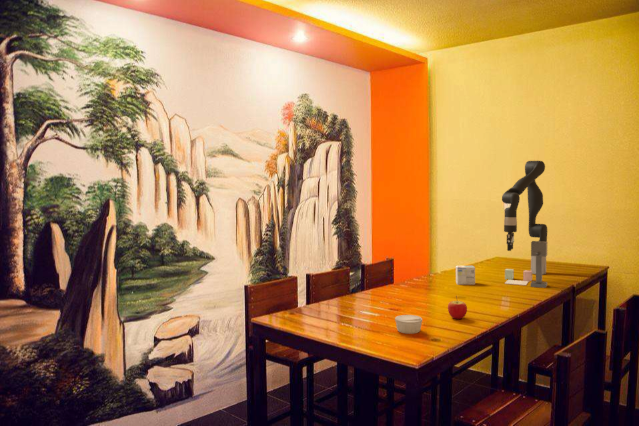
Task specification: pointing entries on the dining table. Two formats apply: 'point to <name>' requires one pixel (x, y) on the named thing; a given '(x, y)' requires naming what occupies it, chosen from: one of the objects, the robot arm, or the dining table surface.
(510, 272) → the pale green rectangular block
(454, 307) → the apple
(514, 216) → the robot arm
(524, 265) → the dining table surface
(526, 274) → the block
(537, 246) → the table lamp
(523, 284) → the plate
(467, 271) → the light bulb box
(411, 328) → the ramekin
